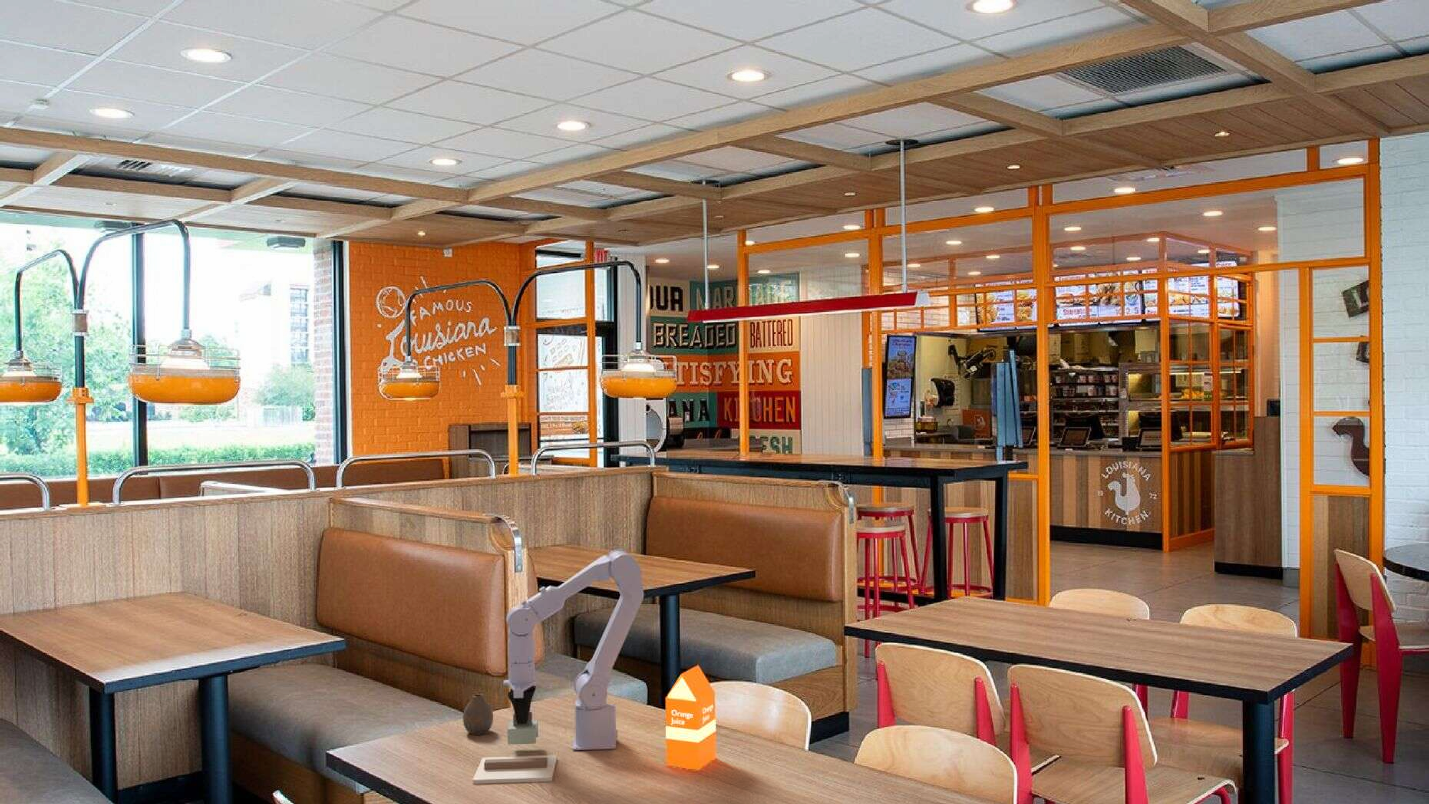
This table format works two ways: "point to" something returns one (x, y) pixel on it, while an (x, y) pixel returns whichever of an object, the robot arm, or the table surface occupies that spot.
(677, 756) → the orange juice
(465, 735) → the table surface
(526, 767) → the board
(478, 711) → the vase
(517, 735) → the sage slotted block
